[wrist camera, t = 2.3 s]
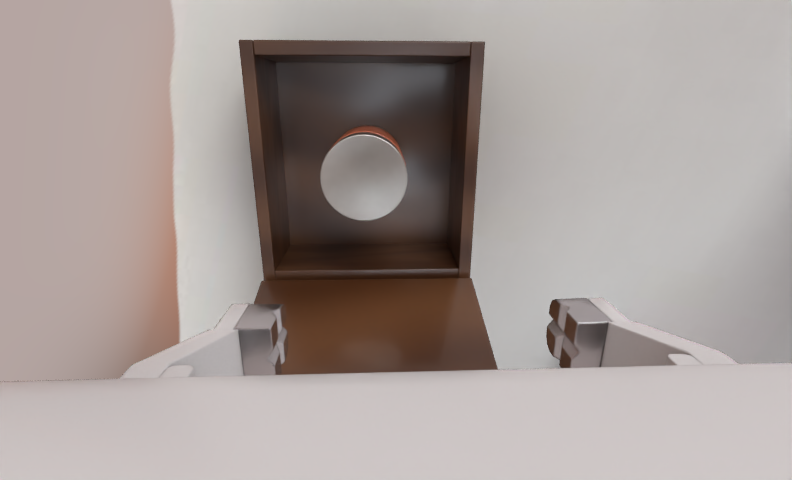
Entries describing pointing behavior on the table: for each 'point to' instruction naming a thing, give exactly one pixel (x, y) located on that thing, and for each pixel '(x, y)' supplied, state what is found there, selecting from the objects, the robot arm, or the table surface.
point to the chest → (340, 112)
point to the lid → (380, 325)
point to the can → (364, 174)
